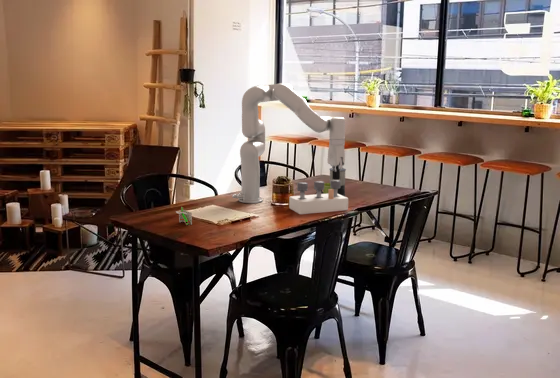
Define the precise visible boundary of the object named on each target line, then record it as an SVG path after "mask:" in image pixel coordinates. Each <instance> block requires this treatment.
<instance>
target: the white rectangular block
mask: <svg viewBox="0 0 560 378" xmlns="http://www.w3.org/2000/svg"><path fill="white" fill-rule="evenodd" d="M288 201H289V206H288V208H289V209H290V210H292V211H294V212H295V213H296V214H299V215H308V214H317V213H329V212H340V211H348V210H349V198H348V197H347V196H342V195H340V194H338V193H337V197H334V199H328V194H322V193H321V198H317V193H316V194H315V193H314V194H305V198H304V199H303V200H300V195H292V196H289V200H288Z"/></svg>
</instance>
